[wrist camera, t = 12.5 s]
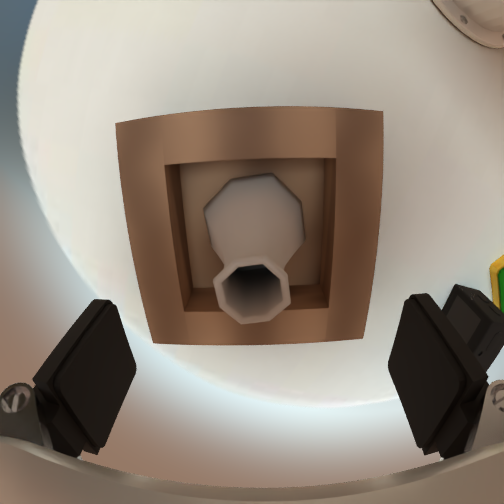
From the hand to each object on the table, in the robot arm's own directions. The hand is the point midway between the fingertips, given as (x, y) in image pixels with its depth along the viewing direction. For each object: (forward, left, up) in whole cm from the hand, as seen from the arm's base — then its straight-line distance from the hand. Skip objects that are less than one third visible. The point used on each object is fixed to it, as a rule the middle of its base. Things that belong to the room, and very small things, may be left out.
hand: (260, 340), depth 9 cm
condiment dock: (0, 0, -15) cm, 15 cm away
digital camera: (-19, +12, -15) cm, 27 cm away
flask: (0, 0, -14) cm, 14 cm away
